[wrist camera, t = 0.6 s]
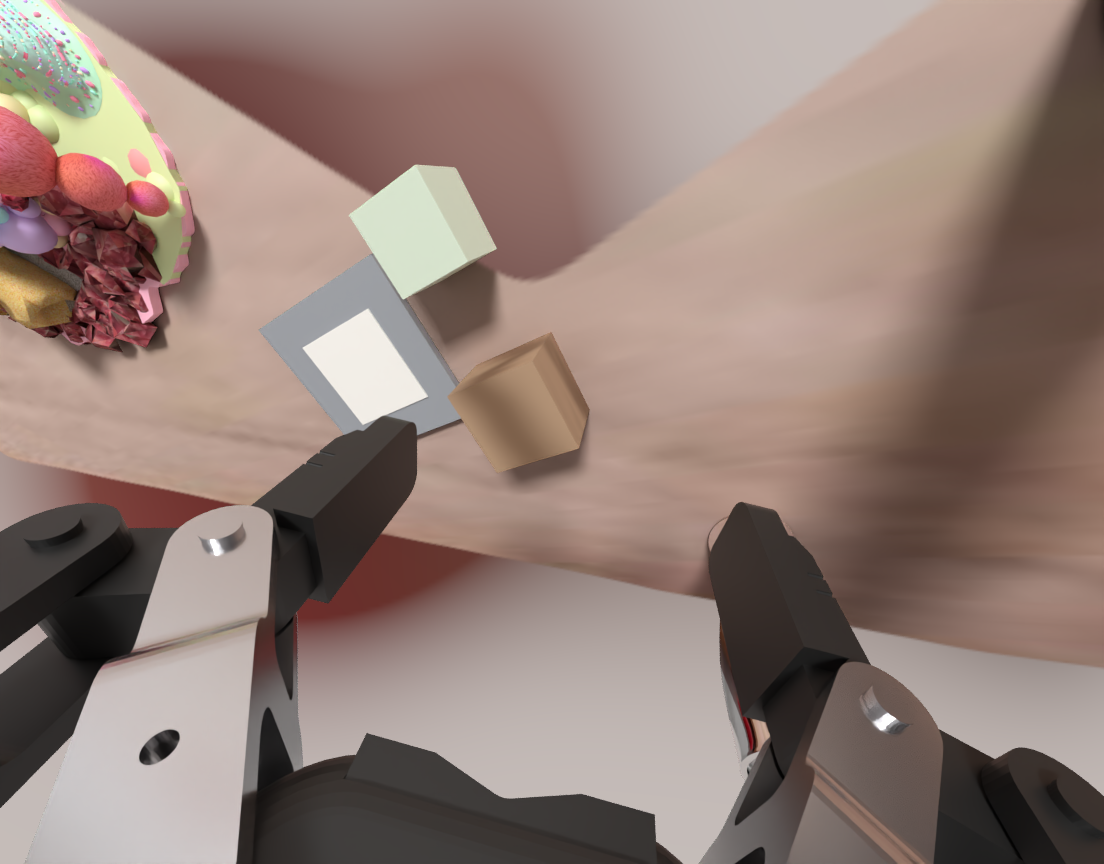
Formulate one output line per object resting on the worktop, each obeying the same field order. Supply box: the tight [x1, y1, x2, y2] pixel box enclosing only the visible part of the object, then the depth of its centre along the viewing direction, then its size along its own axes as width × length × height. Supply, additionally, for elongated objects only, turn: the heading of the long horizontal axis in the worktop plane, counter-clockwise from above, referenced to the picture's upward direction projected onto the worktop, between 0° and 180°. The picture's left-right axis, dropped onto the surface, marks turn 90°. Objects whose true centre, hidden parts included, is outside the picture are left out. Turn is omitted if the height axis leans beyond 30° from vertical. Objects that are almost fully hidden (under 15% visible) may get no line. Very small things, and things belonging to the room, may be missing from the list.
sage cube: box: [349, 165, 497, 299], centre depth 21 cm, size 4×4×4 cm
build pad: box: [259, 254, 461, 435], centre depth 29 cm, size 12×12×1 cm
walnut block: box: [447, 332, 589, 473], centre depth 26 cm, size 6×6×5 cm
